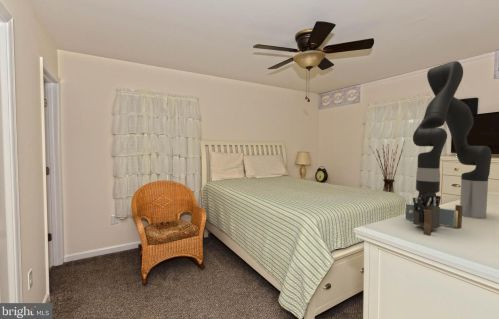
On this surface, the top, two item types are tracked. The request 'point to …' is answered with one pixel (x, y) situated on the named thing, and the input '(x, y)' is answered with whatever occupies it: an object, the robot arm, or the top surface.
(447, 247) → the top surface
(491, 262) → the top surface
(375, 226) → the top surface
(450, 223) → the door
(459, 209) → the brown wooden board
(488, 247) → the top surface
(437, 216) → the block
